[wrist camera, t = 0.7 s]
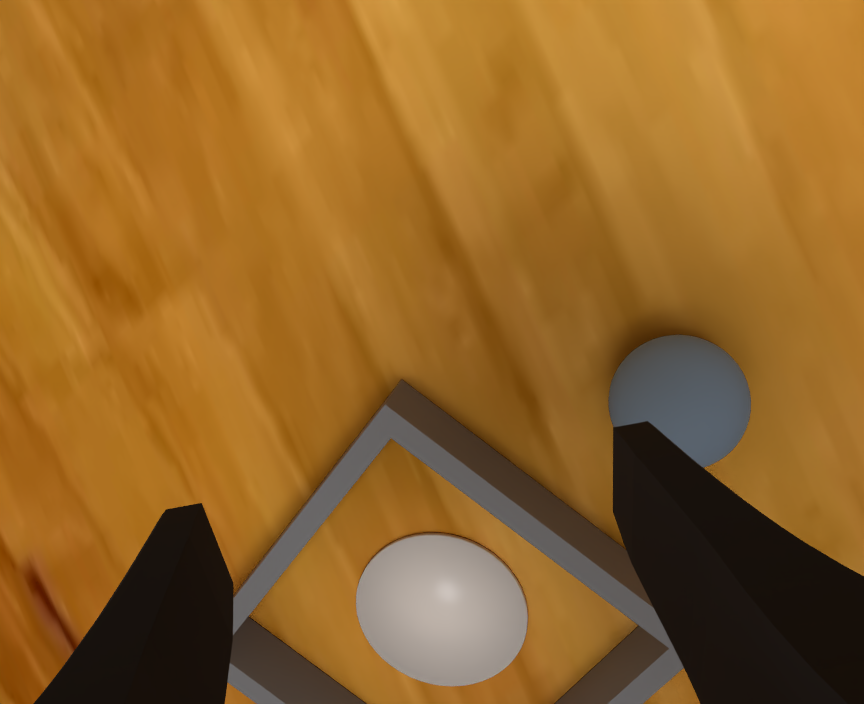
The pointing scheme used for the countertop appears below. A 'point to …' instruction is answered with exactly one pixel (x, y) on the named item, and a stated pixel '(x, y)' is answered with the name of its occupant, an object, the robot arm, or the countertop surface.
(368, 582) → the grey square frame
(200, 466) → the countertop surface
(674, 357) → the ball
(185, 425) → the countertop surface
